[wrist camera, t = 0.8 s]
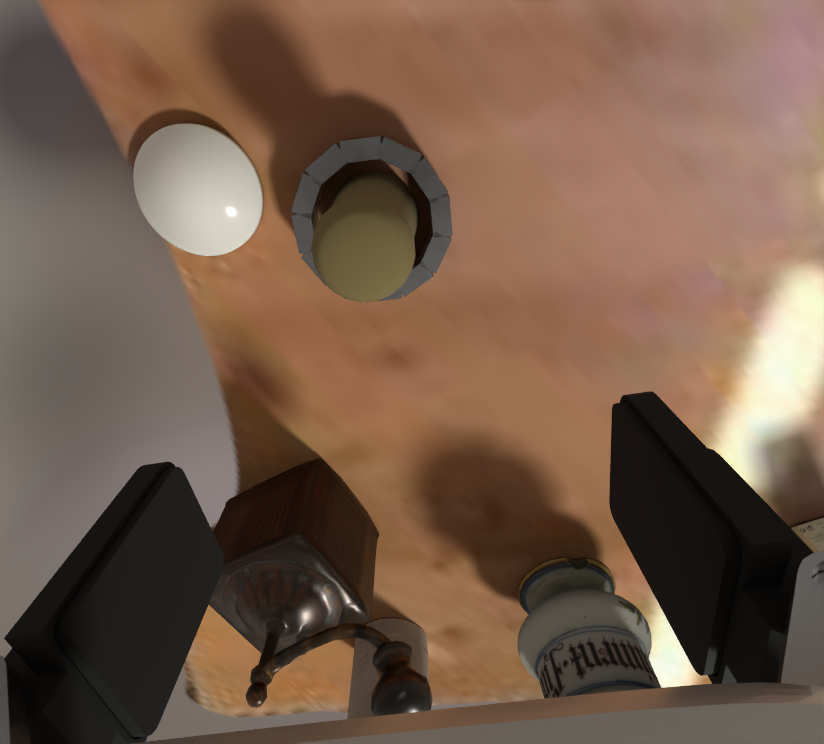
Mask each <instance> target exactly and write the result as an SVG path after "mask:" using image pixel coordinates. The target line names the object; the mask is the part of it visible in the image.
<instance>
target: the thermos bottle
mask: <svg viewBox="0 0 824 744" xmlns="http://www.w3.org/2000/svg"><path fill="white" fill-rule="evenodd" d="M367 626H370V627H373V628H375V629H376V630H378V631H379V632H381V633H382V634H384V635H385V636H387V637H388V638H389V639H390V640H391V641H392V642H393V641H403V642H404V643H406V644H408V645H410V646H411V648H412V657H413V660H412V662H411V665H412V666H413V667H414V668H415V669H416V670H417V671H418V672H419V673H420V674H422V675H424V676H425V677H427V680H428V683H429V673H428V648H427V638H426V635H425V633H424V631H423V630H422V629H421V628H420V627H419V626H417V625H416V624H414V623H412V622H410V621H407V620H403V619H397V618H385V619H379V620H375V621H373V622H370V623H368V624H367ZM376 650H377V649H376V648H375V647H373V646H372V645H371V644H369V643H368V642H366V641H364V640H361V639H359V638H356V639H355V648H354V658H353V668H352V678H351V688H350V698H349V708H348V718H347V719H355V718H365V717H374V716H375V715H374V714H373V712H372V710H371V709H370V708H371V693H372V690H373V689H374V687H375V685H376V684H377V681H378V678H379V675H378V672H377V670H376V669H375V667H374V665H373V655H374V653H375V652H376Z"/></svg>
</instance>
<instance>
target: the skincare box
mask: <svg viewBox="0 0 824 744" xmlns="http://www.w3.org/2000/svg"><path fill="white" fill-rule="evenodd" d="M791 529H792V530H793V531H794V532H795V533H796V534H797V535H798V536H799V537H800V538H801V540H802V541H803V542H804V543H805V544H806V545H807V546H808V547H809V548H810V549H811V550H812V551H813V552H814V553H815V552H821V551H824V518H820V519H817V520H814V521H811V522H807V523H804V524H801V525H798V526H795V527H792V528H791Z"/></svg>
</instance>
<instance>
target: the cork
mask: <svg viewBox="0 0 824 744" xmlns="http://www.w3.org/2000/svg"><path fill="white" fill-rule="evenodd" d="M418 226H419V210H418V205H417V203H416V200H415V198H414V195H413V193H412V192H411V191H410V190H409V188H408V187H407V186H406V185H405V183H404V182H402V181H401V180H399V179H398V178H396V177H395V176H393V175H392V174H389V173H385V172H381V171H366V172H361V173H359V174H356V175H354V176H352V177H350V178H349V179H347V180H346V181H345V182H344V183H343V184H342V185H341V186H340V187H339V189H338V191H337V193H336V194H335V196H334V198H333V200H332V206H331V208H330V209H329V210H327V211H326V212H325V213H324V214H323V215H322V216H321V218H320V220H319V222H318V224H317V226H316V228H315V230H314V232H313V239H312V246H311V249H312V255H313V261H314V265H315V268H316V270H317V272H318V273H319V275H320V277H321V279H322V281H323V282H324V283H325V284H326V285H327V286H328V287H329V288H330V289H331V290H332V291H333V292H335V293H336V294H338V295H340V296H342V297H344V298H345V299H348V300H353V301H357V302H372V301H378V300H380V299H383V298H385V297H388V296H390V295H391V294H393V293H394V292H395V291H396V290H397V289H399V288H400V287H401V286H402V285H403V284H404V283H405V281H406V280H407V278H408V276H409V275H410V273H411V271H412V268H413V264H414V260H415V243H414V239H415V237H416V234H417V230H418Z"/></svg>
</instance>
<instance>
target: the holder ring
mask: <svg viewBox="0 0 824 744" xmlns="http://www.w3.org/2000/svg"><path fill="white" fill-rule="evenodd" d="M421 156H422V154H421V153H420V152H418V151H416V150H414V149H412V148H410V147H408V146H406V145H404V144H401V143H399V142H397V141H395V140H393V139H391V138H389V137H387V136H385V137H384V139H383V140H382V135H381V136H373V137H366V138H358V139H350V140H343V141H339V142H338V143H335V144H334V145H333V146H332V147H330V148H329V149H328V150H327V151H326V152H325V153H324V154H322V155H321V156H320V157H319V158H318V159H317V160H316V161H314V162H313V163H312V164H311V165H310V166H309V167H307V168H306V169H305V170H306V172H304V173H303V174H302V177H301V181H300V184H299V187H298V190H297V194H296V197H295V200H294V204H293V207H292V210H291V212H294V214H292V215H291V218H292V222H293V227H294V231H295V236H296V240H297V245H298V249H299V254H302V253H304V255H303V256H302V257H301V258H302V259H303V260H304V261H305V262H306V263H307V265H308V266H309V267H310V268H311V269H312V270H313V272H314V273H315V274H316V275H317V276H318V277H319V279H320V280H321V281H322V279H321V277H320V275H319V273H318V272H317V270H316V268H315V265H314V261H313V255H312V249H311V246H312V239H313V232H314V230H315V228H316V226H317V224H318V222H319V216H318V211H317V209H318V206H319V203H320V200H321V197H322V194H323V191H324V188H325V185H326V182H327V180H328V179H329V178H331V177H332V176H333V175H334V174H335V173H336V172H338V171H339V170H340V169H341V168H342V167H344V166H345V165H346V164H347V163H352V162H360V161H368V160H375V159H381V160H383V161H385V162H387V163H389V164H392V165H394V166H396V167H398V168H400V169H402V170H404V171H407V172H409V173H411V175H412V176H413V177H414V179H415V180H416V182H417V183H418V185H419V186H420V188H421V189H422V191H423V192H424V193H425V195H426V196H427V198H428V199H429V206H430V217H431V229H430V232H429V234H428V236H427V239H426V241H425V243H424V245H423V248H422V250H421V252H420V254H419V255H418V256H417V257H415V260H414V264H413V268H412V271H411V273H410V275H409V276H408V278H407V280H406V281H405V283H404V284H403V285H402V286H401V287H400V288H399V289H397V290H396V291H395V292H394V293H393V294H391V295H390V296H388V297H385V298H383V299H380V300H378V301H382V300H391V299H400V298H401V293H402V294H403V296H404V297H405V296H407V295H408V294H410V293H411V292H412V291H414V290H415V289H416V288H418V287H419V286H421V285H422V284H423V283H425V282H426V281H428V280H429V279H430V278H432V277H433V272H434V273H436V272H437V270H438V268H439V266H440V263H441V261H442V259H443V257H444V255H445V253H446V250H447V248H448V246H449V244H450V242H451V240H452V239H451V237H450V236H452V225H451V211H450V198H449V195H448V193H447V192H448V191H447V190H446V188H445V186H444V185H443V183H442V182H441V180H440V179H439V177H438V176H437V174H436V173H435V171H434V170H433V168H432V167H431V165H430V164H429V162H428V161H427V159H426V158H425V156H424V155H423V156H422V157H421ZM322 282H323V281H322ZM323 283H324V282H323ZM324 285H325V286H327V285H326V284H325V283H324ZM329 289H330V288H329ZM372 302H373V301H372Z"/></svg>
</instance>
